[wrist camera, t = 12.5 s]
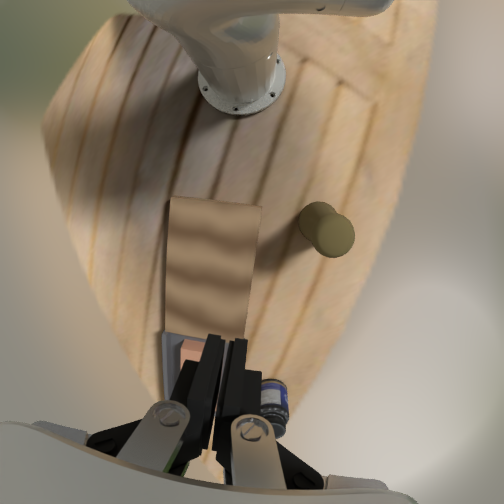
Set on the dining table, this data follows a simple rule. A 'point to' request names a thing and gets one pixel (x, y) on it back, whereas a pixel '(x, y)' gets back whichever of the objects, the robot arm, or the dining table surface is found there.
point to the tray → (176, 359)
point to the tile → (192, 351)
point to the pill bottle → (275, 405)
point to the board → (209, 266)
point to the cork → (326, 229)
